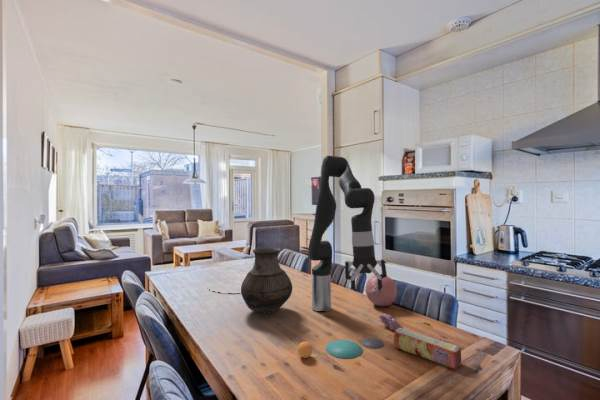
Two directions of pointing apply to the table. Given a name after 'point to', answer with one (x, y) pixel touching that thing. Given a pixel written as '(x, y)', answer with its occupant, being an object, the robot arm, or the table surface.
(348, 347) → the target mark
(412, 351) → the snack package
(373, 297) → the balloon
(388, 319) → the video game controller
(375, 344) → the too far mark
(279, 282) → the vase
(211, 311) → the table surface
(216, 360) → the table surface
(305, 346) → the ball
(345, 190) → the robot arm
